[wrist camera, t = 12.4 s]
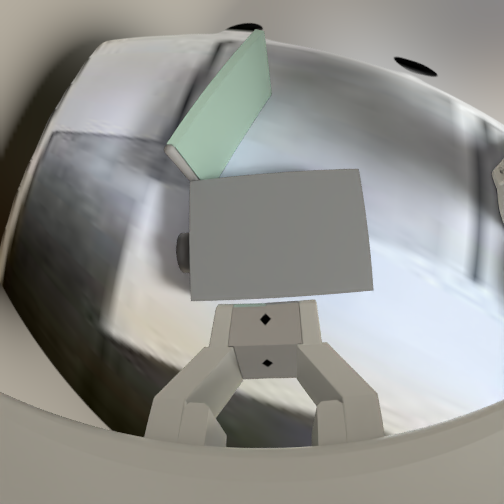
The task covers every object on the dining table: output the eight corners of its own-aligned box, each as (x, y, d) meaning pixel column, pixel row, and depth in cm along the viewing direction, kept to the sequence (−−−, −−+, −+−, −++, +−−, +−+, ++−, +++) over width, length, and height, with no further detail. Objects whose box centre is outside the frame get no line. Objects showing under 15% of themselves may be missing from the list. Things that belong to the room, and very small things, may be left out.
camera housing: (347, 189, 39) (358, 168, 32) (358, 291, 37) (373, 290, 30) (191, 200, 42) (174, 183, 35) (193, 300, 39) (174, 301, 33)
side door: (258, 89, 43) (247, 27, 29) (271, 94, 43) (264, 31, 29) (193, 191, 42) (153, 147, 28) (206, 198, 41) (170, 155, 28)
